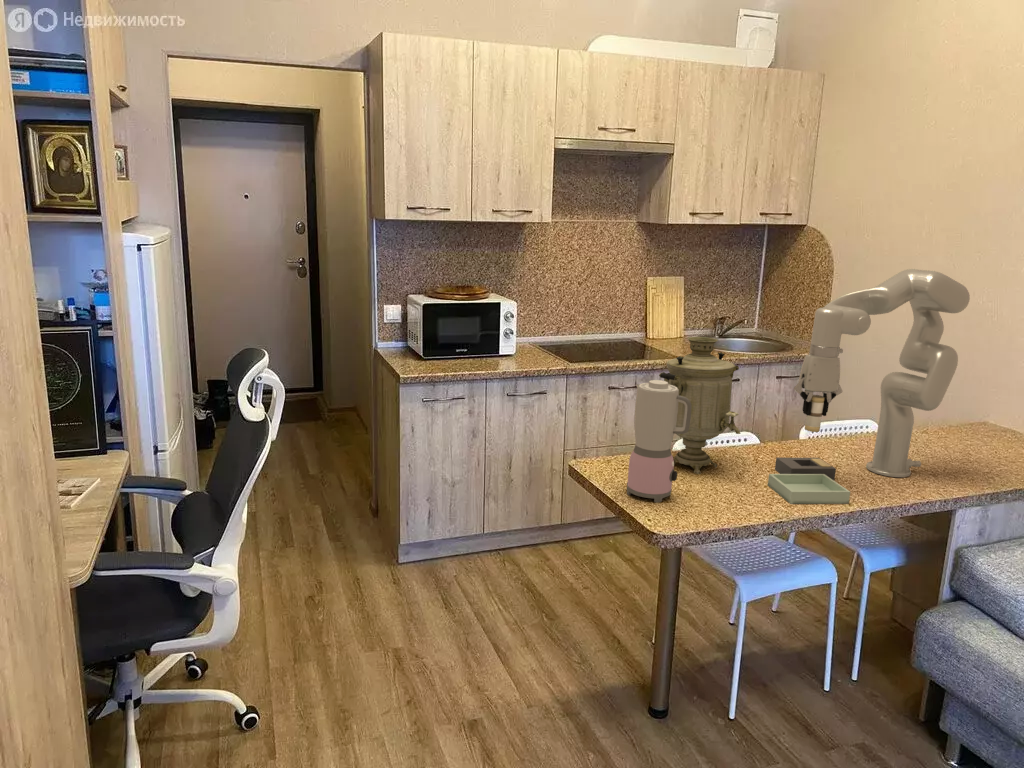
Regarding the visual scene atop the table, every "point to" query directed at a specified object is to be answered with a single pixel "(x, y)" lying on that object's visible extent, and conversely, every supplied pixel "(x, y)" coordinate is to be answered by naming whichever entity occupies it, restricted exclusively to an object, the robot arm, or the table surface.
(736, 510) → the table surface
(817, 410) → the fuse
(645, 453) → the blender
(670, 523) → the table surface
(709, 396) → the samovar
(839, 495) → the parts tray
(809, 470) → the fuse block
